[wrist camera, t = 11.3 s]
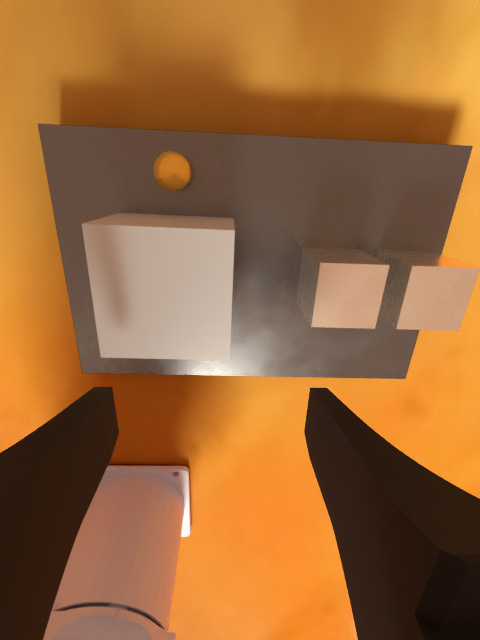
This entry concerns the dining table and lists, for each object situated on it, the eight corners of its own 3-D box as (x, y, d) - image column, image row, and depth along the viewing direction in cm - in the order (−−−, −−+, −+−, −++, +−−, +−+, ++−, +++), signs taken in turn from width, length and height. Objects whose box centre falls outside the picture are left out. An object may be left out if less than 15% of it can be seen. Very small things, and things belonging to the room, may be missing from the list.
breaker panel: (95, 356, 21) (53, 411, 16) (59, 130, 16) (-18, 106, 11) (390, 362, 22) (438, 415, 17) (446, 150, 17) (538, 136, 12)
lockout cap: (130, 317, 18) (100, 357, 14) (120, 212, 16) (81, 223, 12) (229, 320, 18) (229, 360, 14) (233, 217, 16) (234, 230, 12)
